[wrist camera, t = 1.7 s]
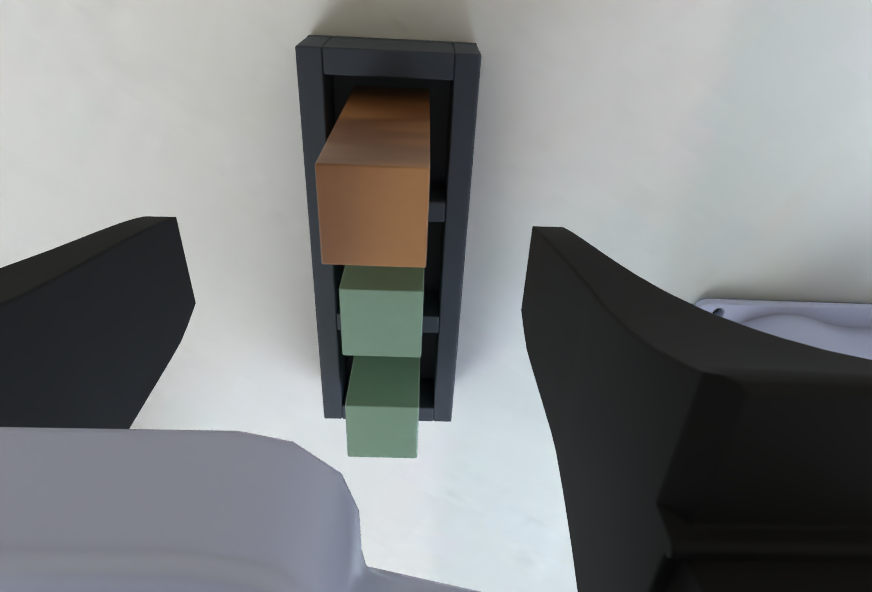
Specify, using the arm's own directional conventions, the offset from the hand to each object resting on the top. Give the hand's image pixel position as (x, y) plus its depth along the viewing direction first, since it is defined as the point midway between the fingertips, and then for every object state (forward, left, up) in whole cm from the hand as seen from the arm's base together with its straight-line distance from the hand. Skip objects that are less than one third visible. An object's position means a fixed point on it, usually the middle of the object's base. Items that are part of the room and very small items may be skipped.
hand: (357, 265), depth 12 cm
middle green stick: (0, +5, -10) cm, 11 cm away
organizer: (0, +5, -10) cm, 11 cm away
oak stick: (0, 0, -10) cm, 10 cm away
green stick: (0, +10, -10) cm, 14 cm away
